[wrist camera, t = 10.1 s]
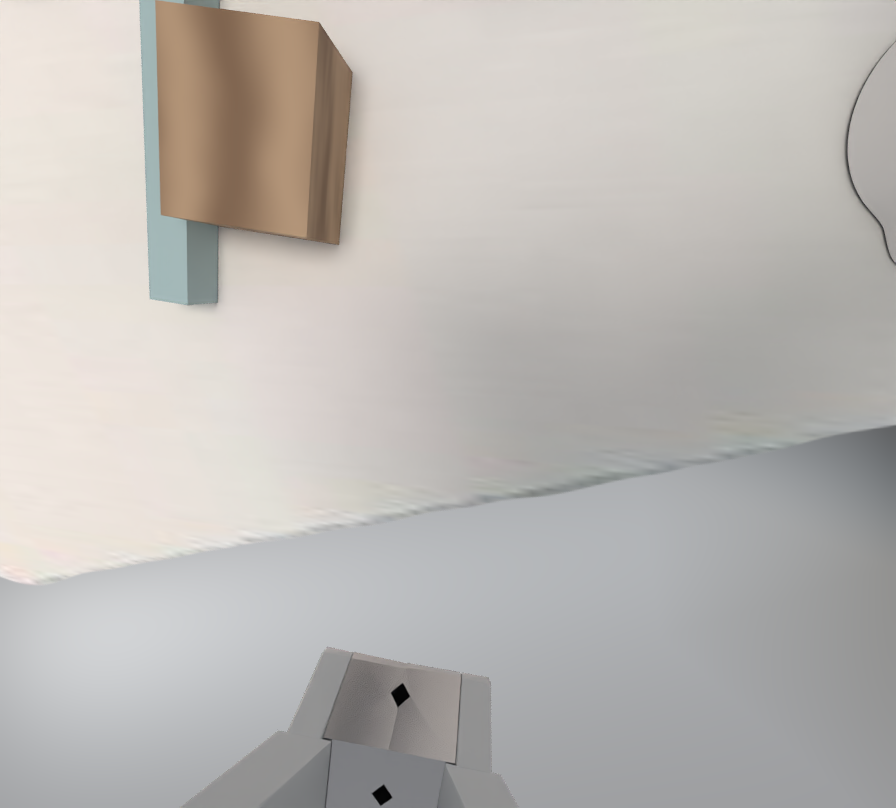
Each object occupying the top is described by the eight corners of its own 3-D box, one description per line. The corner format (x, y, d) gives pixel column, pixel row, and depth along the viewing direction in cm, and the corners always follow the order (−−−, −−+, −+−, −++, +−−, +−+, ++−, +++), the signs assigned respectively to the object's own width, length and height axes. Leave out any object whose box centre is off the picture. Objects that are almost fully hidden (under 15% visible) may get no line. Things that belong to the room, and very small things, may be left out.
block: (353, 73, 33) (319, 22, 27) (339, 244, 37) (306, 237, 30) (221, 55, 34) (155, -1, 27) (220, 226, 37) (160, 215, 30)
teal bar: (219, -80, 31) (182, -130, 27) (217, 302, 38) (187, 305, 35) (177, -85, 31) (134, -136, 28) (183, 296, 39) (149, 298, 35)
